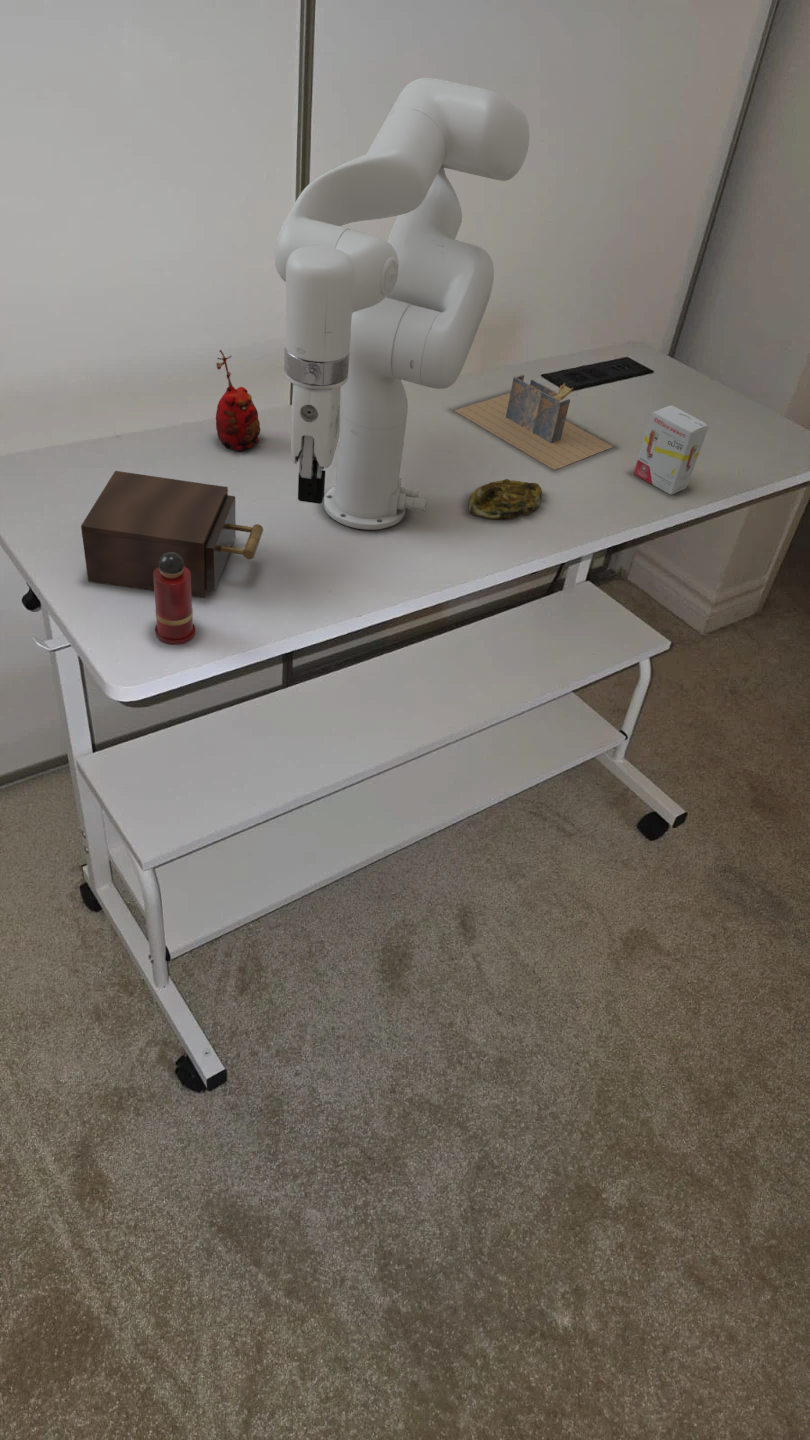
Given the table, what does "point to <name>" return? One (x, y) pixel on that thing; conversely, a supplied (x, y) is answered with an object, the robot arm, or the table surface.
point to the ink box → (670, 449)
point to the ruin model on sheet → (535, 423)
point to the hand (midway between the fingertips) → (310, 498)
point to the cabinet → (149, 529)
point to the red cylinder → (173, 600)
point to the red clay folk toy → (236, 416)
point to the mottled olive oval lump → (505, 499)
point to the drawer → (227, 542)
